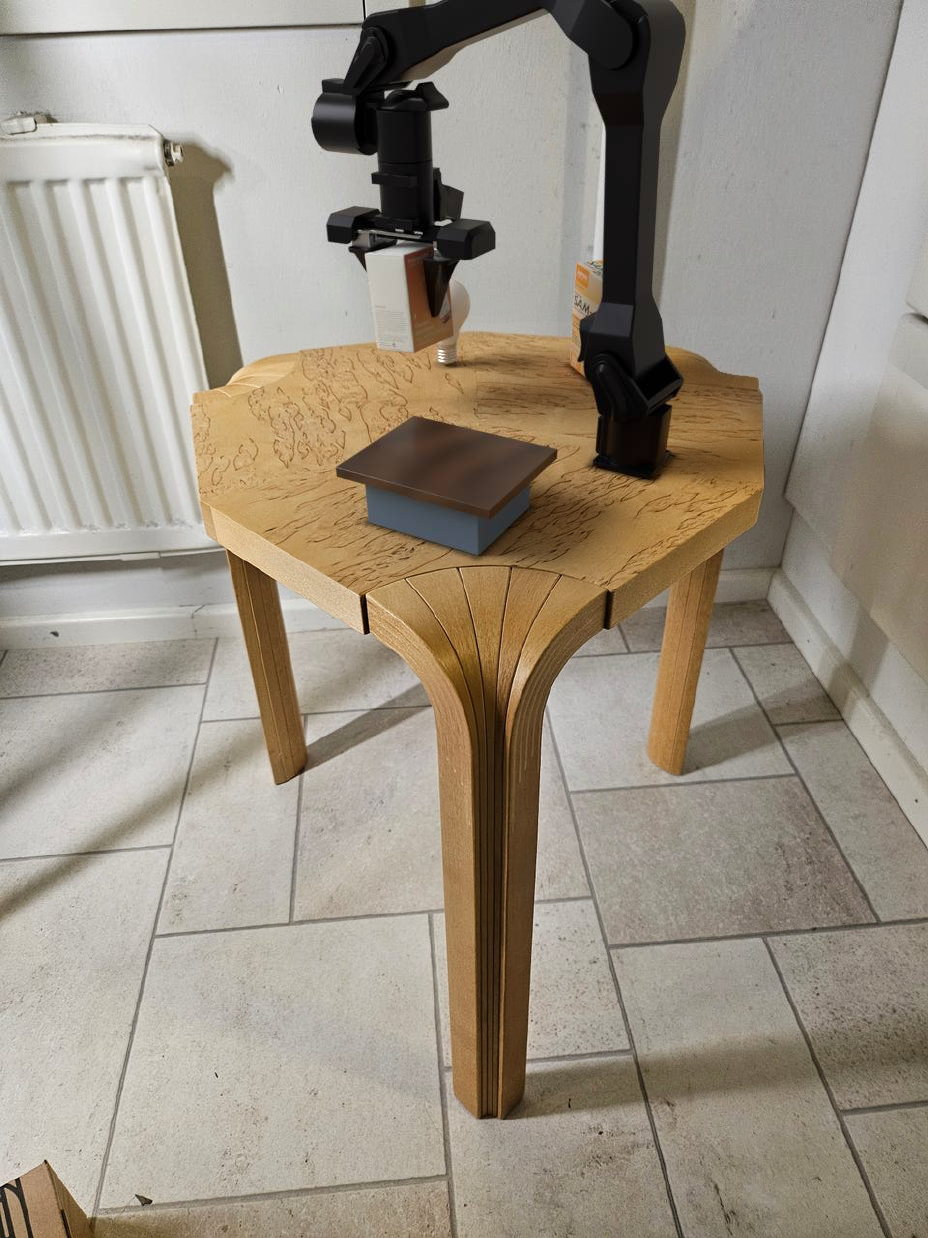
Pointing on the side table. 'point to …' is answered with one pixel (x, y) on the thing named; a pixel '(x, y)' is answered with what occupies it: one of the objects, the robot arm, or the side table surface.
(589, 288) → the supplement box
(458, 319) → the lightbulb
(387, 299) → the small box
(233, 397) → the side table surface
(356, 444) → the side table surface
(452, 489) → the wooden board
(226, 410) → the side table surface
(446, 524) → the blue box
